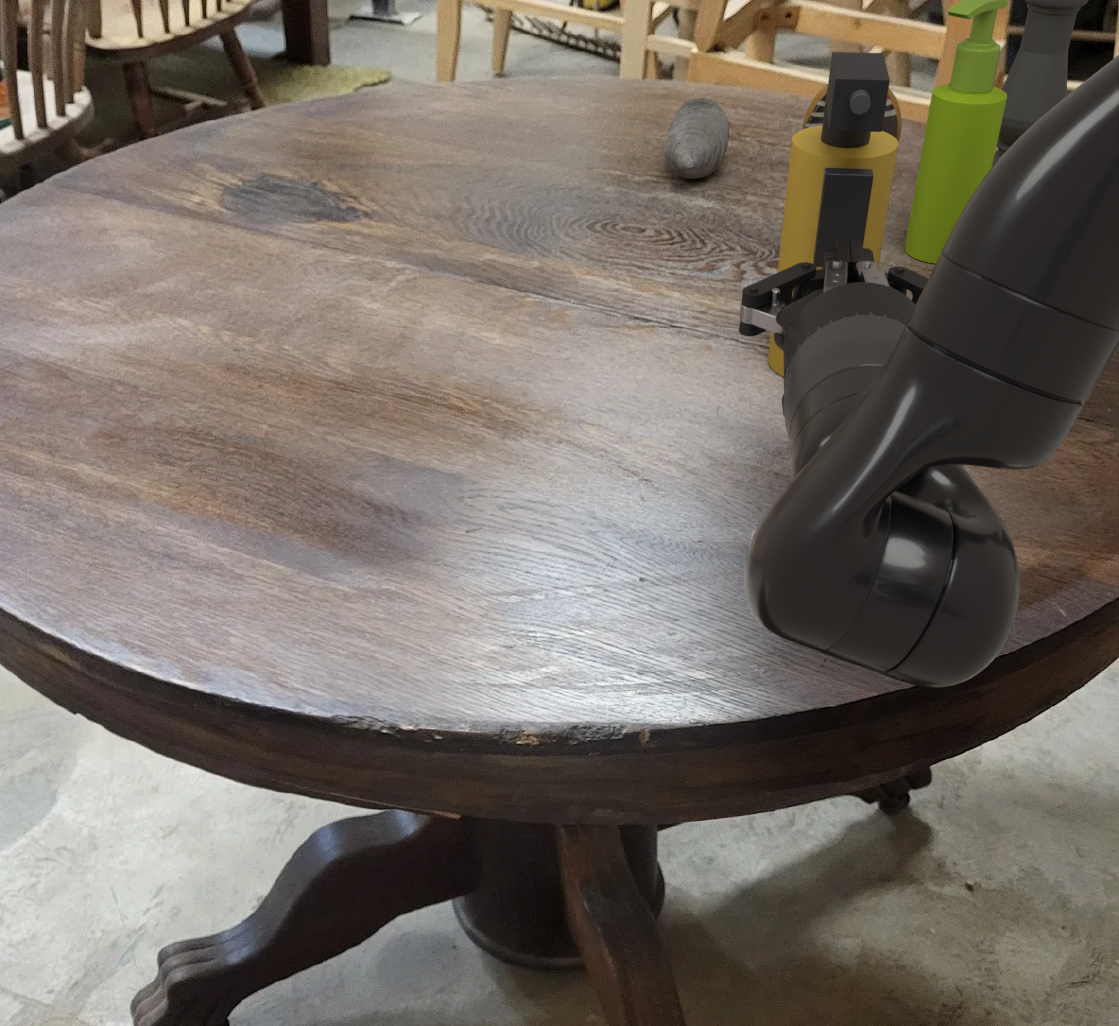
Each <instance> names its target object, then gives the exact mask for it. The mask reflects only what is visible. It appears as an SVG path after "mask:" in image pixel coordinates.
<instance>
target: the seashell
mask: <svg viewBox="0 0 1119 1026" xmlns="http://www.w3.org/2000/svg"><path fill="white" fill-rule="evenodd" d="M667 130H668V131H667V136H666V139H665V141H664V159H665V164H666V165H667V167H668V169H670V170H671V172H673V174H674V175H676V176H679V177H680V178H684V179H687V180H691V179H692V180H695V179H701V178H705V177H707V176H709V175H711V174H712V173H713V172H714V171H715V170H716V169H717V168H718V167H719V165H720V164H721V163H722V161H724V158H725V156H726V153H727V150H728V145H729V141H730V140H729V138H730V123H729V119H728V116H727V113H726V112H725V110H724V109H723V108H722V107H721V105H719V104H718V103H717V102H716V101H715V100H712V99H710V98H706V97H699V98H693V99H690V100H689V99H688V100H686V101H685V102H684V103H683V104H681V105H680V106H679V108H677V109H676V112H675V115H674V117H673V118H672V120H671V122H670V123H669V127H668V129H667Z"/></svg>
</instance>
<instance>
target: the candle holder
mask: <svg viewBox="0 0 1119 1026" xmlns="http://www.w3.org/2000/svg"><path fill="white" fill-rule="evenodd" d="M1024 2H1025V3H1026V8H1027V10H1028V11H1027V14H1026V18H1025V24H1024V28H1023V33H1022V37H1021V42H1020V47H1019V49H1018V50H1017V53H1016V56H1015V58H1014V60H1013V63H1012V65H1011V68H1010V69H1009V72H1008V74H1007V76H1006V79H1005V81H1004V84H1003V85H1002V88H1001V90H1003V91H1004V92H1006V94H1007V100H1006V104H1005V109H1004V114H1003V118H1002V123H1001V128H1000V132H999V137H998V142H997V146H996V148H997V150H996V151H995V156H994V160H993V165H992V167H993V166H994V165H995V164H996V162H997V161H998V160H999V159H1000V157H1001V156H1002V155H1003V154H1004V153H1005V152H1006V151H1007V150H1008V149H1009V148H1010V147H1011V146H1012V145H1013V144H1014V142H1015V141H1016V140H1017V139H1018V138H1019V137H1020V136H1021V135H1022V134H1023V133H1025V132H1026V131H1027V130H1028V129H1029V128H1030V127H1031V126H1032V125H1033V124H1034V123H1035V122H1036V121H1037V120H1039V119H1040V118H1041V117H1042V116H1043V115H1045V114H1046V113H1047V112H1048V111H1049V110H1051V109H1052V108H1053V107H1054V106H1055V105H1057V104H1058V103H1059V102H1060V101H1062V100H1063V99H1064V98H1065V97H1066V96H1068V69H1069V68H1068V63H1069V61H1068V60H1069V47H1070V44H1071V39H1072V37H1073V36H1072V35H1073V31H1074V27H1075V23H1076V20H1077V15H1078V12H1079V11H1080V10H1081V8H1082V7H1083V6H1085V5H1086V4H1087V3H1088V2H1089V0H1024Z"/></svg>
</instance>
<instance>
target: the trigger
mask: <svg viewBox="0 0 1119 1026" xmlns="http://www.w3.org/2000/svg"><path fill="white" fill-rule="evenodd" d="M873 178H874V175H873V170H872V169H851V168H825V170H824V178H823V185H822V193H821V201H820V209H819V217H818V225H817V233H816V240H815V248H814V256H813V264H815V265H816V266H817V267H823V260H824V252H825V249H826V248H827V247H836V241H837V239H840V240H861V241H862V248H863V243H864V236H865V230H866V223H867V217H868V210H869V204H870V197H871V191H872V184H873Z"/></svg>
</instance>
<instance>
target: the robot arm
mask: <svg viewBox="0 0 1119 1026" xmlns="http://www.w3.org/2000/svg"><path fill="white" fill-rule="evenodd" d="M941 252H942V254H940V256H939V258H938V260H937V262H936V264H934V266H933V268H932V270H931V272H930V274H929V277H926V276H923V275H922V274H919V273H918V272H916V271H913V270H911V269H910V268H907V267H904V266H892V267H890V268H888V271H887V272H886V271H884V270H883V271H882V270H880V268H878V265H877V264H876V263H874V256H873V252H872V251H871V250H870V249H868V248H862V241H861V240H840V239H837V241H836V247H827V248H826V249H825V252H824V260H823V267H822V269H819V270H816V269H817V266H816V265H815V264H812V263H808V262H802V263H798V264H796V265H794V266H791V267H789V268H787V269H785V270H783V271H780V272H778V271H777V272H778V273H777V272H776V273H774V274H771V275H769V276H767V277H765V278H763V279H761V280H759V281H756V282H754V283H752V284H749V285H748V286H745V287H744V288H742V292H741V302H740V311H739V324H738V333H739V334H740V335H742V336H743V337H756V336H759V335H761V334H763V333H765V332H768V333H771V332H773V333H775V334H774V341H775V343H776V345H777V346H778V347H779V348H780V349H781V350H782V351H783V352H784V377H783V393H782V397H781V408H782V409H781V410H782V415H783V418H784V425H785V428H786V433H787V438H788V441H789V442H788V443H789V480H790V481H789V482H788V484H787V485H786V486H785V487H784V488H783V489H782V491H781V492H780V493H779V495H778V496H777V497H776V498H775V500H774V501H773V502H772V504H771V505H770V506H769V508H768V509H767V510H766V512H765V513H764V515H763V517H762V518H761V520H760V522H759V523H758V525H757V527H756V529H755V531H754V532H753V535H752V536H751V539H750V542H749V546H748V547H747V551H746V555H745V559H744V565H743V567H744V568H743V586H744V596H745V599H746V602H747V606H748V608H749V611H750V613H751V615H752V617H753V618H754V619H755V621H756V623H758V625H760V627H761V628H763V629H764V630H765V631H767V632H768V633H769V634H772V635H773V636H775V637H777V638H780V639H781V640H784V641H786V642H789V643H792V644H794V645H797V646H800V647H803V648H806V649H809V650H812V651H814V652H819V653H821V654H823V655H827V656H830V657H832V658H835V659H838V660H841V661H843V662H846V663H849V664H852V665H855V666H857V667H860V668H863V669H866V670H869V671H871V672H875V673H878V674H880V675H881V676H882V675H883V676H886V677H888V678H891V679H894V680H897V681H899V682H902V683H905V684H908V685H911V686H912V685H913V686H918V687H923V688H933V689H934V688H935V689H936V688H937V689H938V688H948V687H952V686H955V685H958V684H961V683H964V682H967V681H969V680H970V679H972V678H973V677H975V676H977V675H979V674H980V673H981V672H983V671H984V670H985V669H986V668H987V667H988V666H990V665H991V663H993V661H994V660H995V659H996V658H997V656H998V655H999V654H1000V652H1001V651H1002V650H1003V648H1004V647H1005V645H1006V643H1007V642H1008V640H1009V637H1010V635H1011V633H1012V631H1013V627H1014V624H1015V622H1016V619H1017V616H1018V615H1017V614H1018V609H1019V604H1020V597H1021V595H1020V594H1021V576H1020V575H1021V574H1020V569H1019V562H1018V557H1017V552H1016V549H1015V545H1014V543H1013V540H1012V537H1011V536H1010V534H1009V531H1008V529H1007V527H1006V526H1005V524H1004V522H1003V520H1002V518H1001V517H1000V515H999V513H998V511H997V510H996V509H995V507H994V506H993V505H992V503H991V502H990V500H989V499H988V497H987V496H986V495H985V493H984V492H983V491H982V489H981V488H980V487H979V486H978V484H977V483H976V482H975V480H974V479H973V477H972V476H971V475H970V473H969V472H968V471H967V469H966V468H965V467H964V466H972V467H981V468H989V469H996V470H1009V471H1020V470H1029V469H1035V468H1036V467H1039V466H1041V465H1042V464H1045V462H1046V461H1047V460H1049V459H1050V458H1052V456H1053V455H1054V454H1055V453H1056V451H1057V450H1058V449H1059V447H1060V446H1061V445H1062V444H1063V442H1064V441H1065V439H1066V437H1067V436H1068V434H1069V433H1070V431H1071V429H1072V427H1073V426H1074V424H1075V422H1076V421H1077V419H1078V417H1079V416H1080V413H1081V412H1082V410H1083V409H1084V407H1085V402H1086V401H1088V399H1090V398H1089V397H1090V396H1091V394H1092V392H1093V391H1094V389H1095V387H1096V386H1097V384H1098V382H1099V380H1100V378H1101V377H1102V375H1103V373H1104V372H1105V370H1106V368H1107V366H1108V364H1109V363H1110V361H1111V359H1112V358H1113V356H1114V354H1115V352H1116V351H1117V349H1118V347H1119V54H1118V55H1116V56H1115V57H1114V58H1112V59H1111V60H1110V61H1109V62H1107V63H1106V64H1105V65H1104V66H1102V67H1101V68H1100V69H1098V71H1096V72H1095V73H1093V74H1092V75H1091V76H1090V77H1088V78H1086V80H1085V81H1083V82H1082V83H1081V84H1080V85H1078V86H1076V88H1075V89H1074V90H1072V91H1071V92H1069V94H1067V96H1066V97H1065V98H1064V99H1063V100H1062V101H1060V102H1059V103H1058V104H1057V105H1055V106H1054V107H1053V108H1052V109H1051V110H1049V111H1048V112H1047V113H1046V114H1045V115H1043V116H1042V117H1041V118H1040V119H1039V120H1037V121H1036V122H1035V123H1034V124H1033V125H1032V126H1031V127H1030V128H1029V129H1028V130H1027V131H1026V132H1025V133H1023V134H1022V135H1021V136H1020V137H1019V138H1018V139H1017V140H1016V141H1015V142H1014V144H1013V145H1012V146H1011V147H1010V148H1009V149H1008V150H1007V151H1006V152H1005V153H1004V154H1003V155H1002V156H1001V157H1000V159H999V160H998V161H997V162H996V164H995V165H994V166H993V167H992V168H991V170H990V171H989V172H988V173H987V175H986V176H985V177H984V179H983V180H982V181H981V183H980V184H979V186H978V187H977V189H976V190H975V192H974V193H973V195H972V196H971V197H970V199H969V201H968V202H967V204H966V206H965V208H964V209H963V211H962V213H961V215H960V217H959V218H958V220H957V222H956V224H955V225H954V227H953V229H952V231H951V233H950V235H949V237H948V239H947V241H946V243H945V245H944V247H943V249H942V251H941ZM908 291H910V293H911V295H912V298H911V299H910V298H909V297H908V296H907V292H908ZM792 292H793V297H792Z"/></svg>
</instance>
